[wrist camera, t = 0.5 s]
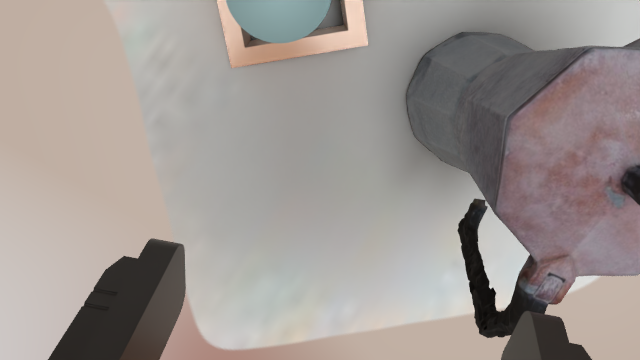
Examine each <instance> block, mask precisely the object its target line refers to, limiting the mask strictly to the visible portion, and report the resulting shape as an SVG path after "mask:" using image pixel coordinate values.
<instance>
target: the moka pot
mask: <svg viewBox="0 0 640 360" xmlns="http://www.w3.org/2000/svg"><path fill="white" fill-rule="evenodd" d="M407 108H408V114H409V118H410V122H411V126H412V129H413V133H414V136H415V137H416V139H418V140H419V141H420V142H421V143H422V144H423V145H424V146H425V147H426V148H428V149H429V150H430V151H431V152H433V153H434V154H435V155H436V156H437V157H439V159H440V160H441V161H444V162H445V163H448V164H450V165H452V166H455V167H457V168H459V169H461V170H464V171H466V172H468V173H470V175H471V176H472V178H473V179H474V181H475V182H476V184H477V186H478V187H479V189H480V191H481V192H482V194H483V195H484V197H485V199H486V200H480V199H474V201H473V203H471V204H470V207H469V210H468V212H467V213H466V214H465V217H464V218H463V219H462V220H461V221H460V223H459V224H458V225H459V228H458V233H459V236H460V240H461V243H462V246H461V249H462V253H463V257H464V259H465V266H466V272H467V277H468V280H469V281H470V282H469V287H470V292H471V294H472V299H473V305H474V308H475V317H474V318H475V319H476V325H477V326H478V328H479V333H480V334H481V335H483V336H485V337H487V338H492V337H495V336H498V337H504V336H508V335H512V333H513V331H514V329H515V327H516V325H517V323H518V321H519V319H520V318H521V316H522V314H523V313H524V312H525V311H530V312H535V313H540V314H545V311H546V308H547V306H548V304H558V303H560V302H561V301H562V299H563V298H564V296H565V295H566V293H567V292H568V290H569V289H570V287H571V286H572V284H573V283H574V282H575V278H576V277H578V276H592V275H596V276H628V275H629V276H630V275H631V276H634V275H639V274H640V39H638V40H636V41H634V42H632V43H630V44H628V45H626V46H624V47H605V46H584V47H577V48H565V49H558V50H547V51H534V50H532V49H530V48H528V47H527V46H525V45H523V44H521V43H519V42H517V41H515V40H513V39H511V38H509V37H507V36H504V35H501V34H492V33H479V32H462V33H460V34H458V35H455V36H453V37H451V38H450V39H448V40H446V41H445V42H443V43H441V44H439V45H438V46H436V47H435V48H434V49H432V50H431V51H429V52H428V53H427V54H426V55H425V56H424V57H423V58H422V60H421V62H420V63H419V65H418V68H417V70H416V72H415V74H414V77H413V79H412V81H411V83H410V85H409V89H408V92H407ZM485 201H487V202H488V204H489V205H490V207H491V208H492V210H493V212H494V213H495V215H496V216H497V217H498V218H499V219H500V220H501V221H502V222H503V223H504V224H505V225H506V227H507V228H508V229H509V230H510V231H511V232H512V233H513V234H514V236H515V237H516V238H517V239H518V240H519V241H520V243H521V244H522V245H523V246H524V247H525V248H526V250H527V251H528V252H529V253H530V256H529V257H528V259H527V261H526V263H525V264H524V266H523V268H522V269H521V271H520V273H519V276H518V279H517V282H516V286H515V290H514V293H513V296H512V300H511V303H510V304H509V305H508V307H507V308H506V309H505V310H504V311H501V312H499V311H497V310H496V307H495V295H496V292H495V290H494V289H493V288H492V289H491V290H490V288H489V280H488V278H487V275H486V273H485V271H484V266H483V260H482V259H481V254H480V252H479V249H478V243H477V242H478V227H479V223H480V221H481V219H482V217H483V215H484V213H485V211H486V209H487V206H485Z"/></svg>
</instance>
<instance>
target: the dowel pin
mask: <svg viewBox="0 0 640 360" xmlns="http://www.w3.org/2000/svg"><path fill="white" fill-rule="evenodd" d="M226 3H227V6H228V8H229V11H230V13H231V14H232V16H233V18H234V19H235V20H236V22H237V23H238V24H239V25H240V26H241V27H242V28H243V29H244V30H245V31H246V32H247V33H249V34H250V35H252V36H254V37H256V38H258V39H260V40H263V41H266V42H271V43H289V42H293V41H296V40H299V39H302V38H303V37H305V36H307V35H308V34H310V33H311V32H313V31H314V30H315V29H316V28H317V27H318V26H319V25H320V23H321V22H322V21H323V19H324V18H325V16H326V14H327V12H328V10H329V7H330V4H331V0H226Z"/></svg>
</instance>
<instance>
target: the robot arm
mask: <svg viewBox="0 0 640 360" xmlns="http://www.w3.org/2000/svg"><path fill="white" fill-rule="evenodd" d="M185 287H186V286H185V253H184V246H183V244H179V243H173V242H168V241H163V240H157V239H150V240H149V241H148V242H147V244H146V246H145V247H144V249H143V251H142V252H141V254H140V256H139V258H138V259H137V258H132V257H126V256H124V257H122V258H121V259H119V260H118V261H117V262H116V263H114V264H113V265H112V266H110V267H109V268H108V269H106V270H105V272H104V273H103V275H102V276H101V278H100V279H99V281H98V282H97V284H96V285H95V287H94V290H93V292H91V294H90V295H89V297H88V298H87V300H86V301H85V304H84V306H83V307H81V309H80V310H79V312H78V314H77V315H76V317H75V318H74V320H73V322H72V323H71V325H70V326H69V328H68V329H67V331H66V332H65V334H64V335H63V337H62V339H61V340H60V342H59V343H58V345H57V346H56V348H55V350H54V351H53V353H52V354H51V356H50V357H49V359H48V360H159V359H160V357H161V354H162V352H163V350H164V348H165V346H166V344H167V341H168V339H169V337H170V335H171V332H172V330H173V328H174V326H175V323H176V321H177V319H178V317H179V314H180V312H181V309H182V306H183V301H184V297H185ZM501 360H592V359H591V358H590V356H589V355H588V353H587V352H586V351H585V349H584V348H583V347H582V345H578V344H572V343H569V340H568V337H567V333H566V329H565V326H564V323H563V321H562V319H561V318H560V317H556V316H551V315H545V314H540V313H535V312H530V311H525V312H524V313H523V314H522V316H521V318H520V319H519V321H518V323H517V325H516V327H515V329H514V331H513V333H512V335H511V337H510V339H509V341H508V343H507V345H506V347H505V349H504V351H503V354H502V358H501Z"/></svg>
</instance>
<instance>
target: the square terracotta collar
mask: <svg viewBox="0 0 640 360" xmlns="http://www.w3.org/2000/svg"><path fill="white" fill-rule="evenodd" d="M340 1H341V8H342V15H343V22H344V25H340V26H334V27H328V28H322V29H316V30H314V31H313V32H311V33H310V34H308V35H307V36H305V37H303V38H302V39H299V40H296V41H293V42H289V43H271V42H266V41H263V40H260V39H257V40H251V37H250V34H249V33H247V32H246V31H245V30H244V29H243V28H242V27H241V26H240V25H239V24H238V23H237V22H236V20H235V19H234V18H233V16H232V14H231V13H230V11H229V8H228V6H227V3H226V0H217V4H218V8H219V13H220V18H221V22H222V27H223V31H224V36H225V41H226V45H227V50H228V55H229V59H230V64H231V68H235V67H241V66H247V65H253V64H259V63H265V62H271V61H277V60H283V59H289V58H295V57H301V56H307V55H313V54H319V53H325V52H331V51H337V50H343V49H349V48H355V47H361V46H367V45H368V39H367V31H366V24H365V16H364V8H363V0H340Z"/></svg>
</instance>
